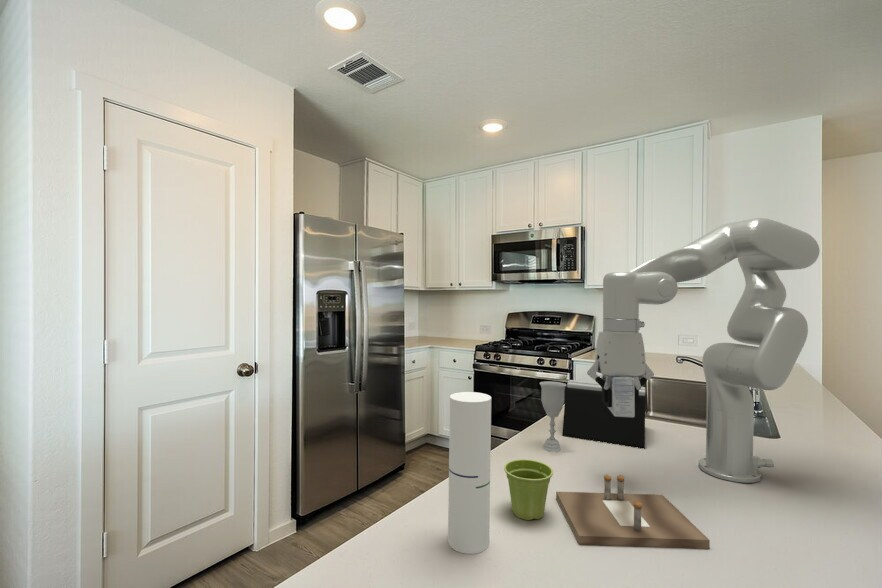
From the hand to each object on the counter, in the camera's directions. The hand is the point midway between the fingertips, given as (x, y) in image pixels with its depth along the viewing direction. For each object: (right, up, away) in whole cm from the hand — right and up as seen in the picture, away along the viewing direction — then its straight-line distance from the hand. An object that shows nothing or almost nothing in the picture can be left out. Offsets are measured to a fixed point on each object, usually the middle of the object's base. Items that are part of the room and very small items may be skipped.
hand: (620, 405), depth 95 cm
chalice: (-10, -18, +21) cm, 30 cm away
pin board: (-6, -18, -16) cm, 25 cm away
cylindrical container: (-36, -18, -23) cm, 46 cm away
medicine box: (0, -2, 0) cm, 2 cm away
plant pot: (-24, -18, -13) cm, 33 cm away
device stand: (+11, -19, +37) cm, 43 cm away
